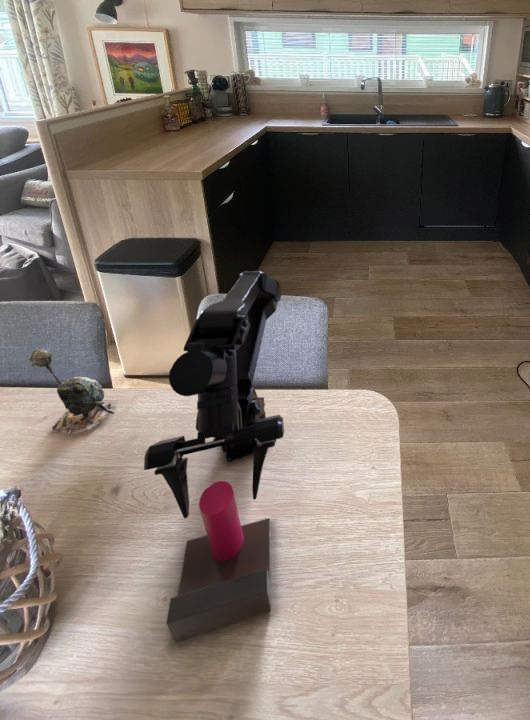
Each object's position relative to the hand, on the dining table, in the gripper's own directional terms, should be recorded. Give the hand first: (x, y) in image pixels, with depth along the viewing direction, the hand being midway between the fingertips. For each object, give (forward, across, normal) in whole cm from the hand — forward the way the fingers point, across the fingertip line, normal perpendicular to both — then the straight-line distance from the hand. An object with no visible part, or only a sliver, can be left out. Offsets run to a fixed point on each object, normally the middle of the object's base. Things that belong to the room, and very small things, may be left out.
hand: (221, 507), depth 56 cm
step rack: (+9, 0, -4) cm, 10 cm away
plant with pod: (-14, +30, -28) cm, 43 cm away
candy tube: (+6, 0, -5) cm, 8 cm away
